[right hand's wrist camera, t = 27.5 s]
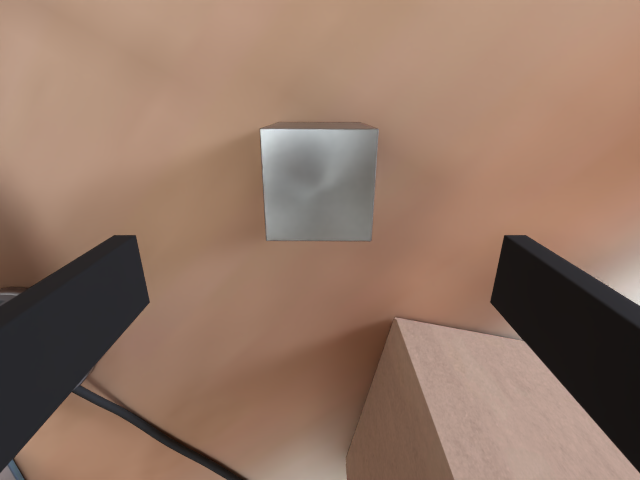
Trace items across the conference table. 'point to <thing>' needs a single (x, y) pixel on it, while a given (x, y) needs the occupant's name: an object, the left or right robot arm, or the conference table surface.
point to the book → (11, 472)
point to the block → (318, 180)
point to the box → (474, 414)
